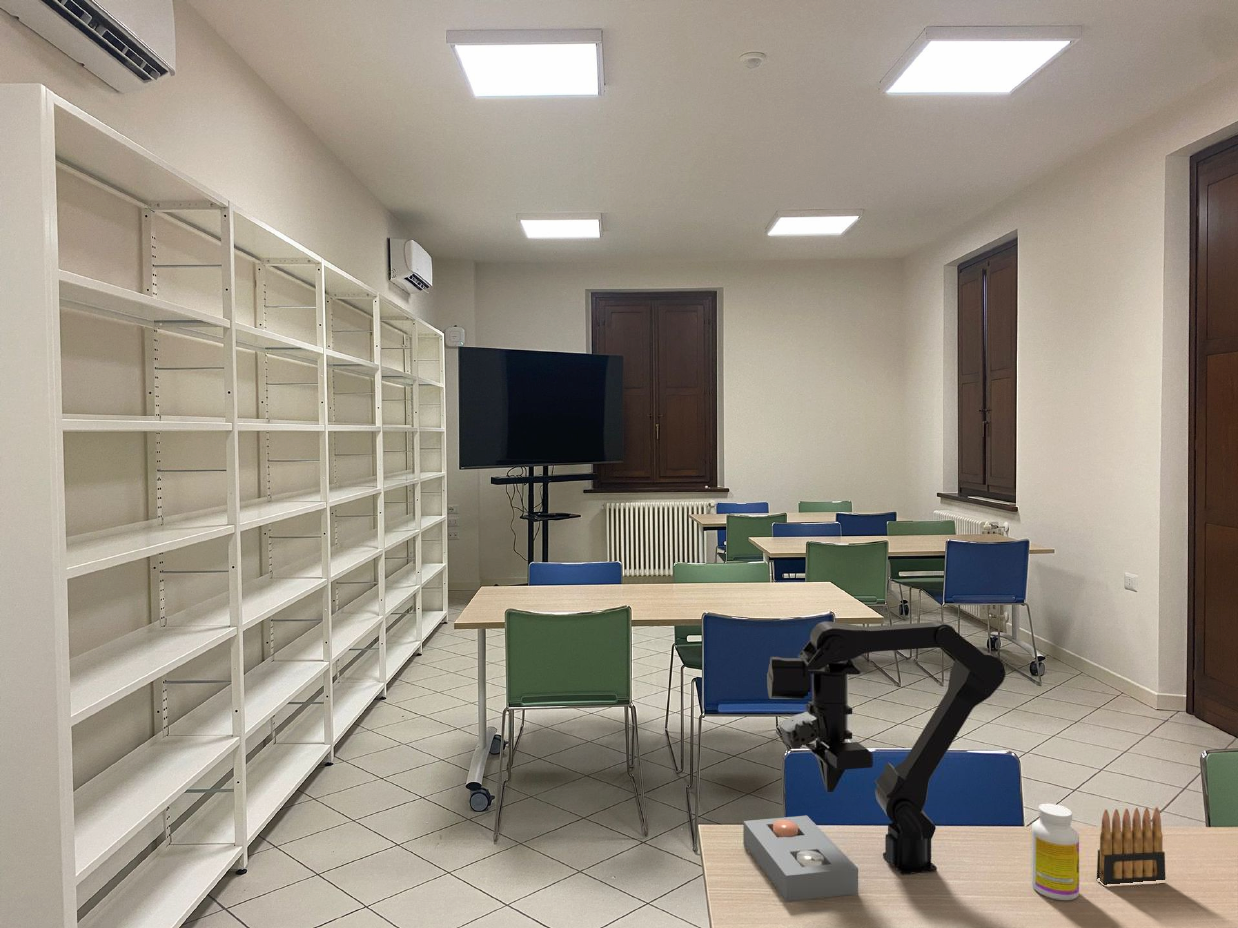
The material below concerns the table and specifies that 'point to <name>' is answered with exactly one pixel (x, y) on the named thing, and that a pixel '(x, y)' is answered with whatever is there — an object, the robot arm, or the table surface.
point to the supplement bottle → (1055, 853)
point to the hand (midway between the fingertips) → (829, 791)
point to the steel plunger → (809, 858)
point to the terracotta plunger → (785, 828)
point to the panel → (787, 872)
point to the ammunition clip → (1131, 848)
